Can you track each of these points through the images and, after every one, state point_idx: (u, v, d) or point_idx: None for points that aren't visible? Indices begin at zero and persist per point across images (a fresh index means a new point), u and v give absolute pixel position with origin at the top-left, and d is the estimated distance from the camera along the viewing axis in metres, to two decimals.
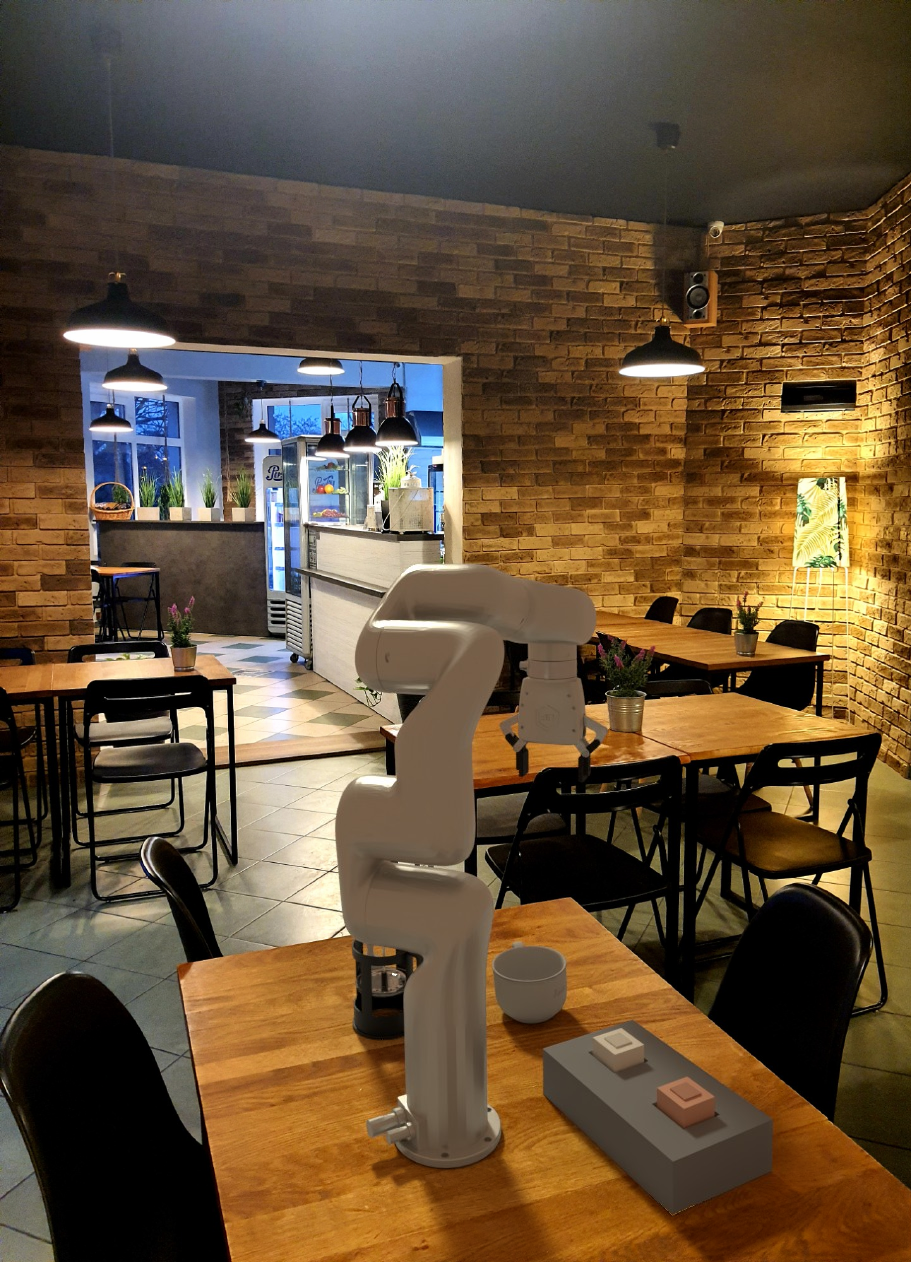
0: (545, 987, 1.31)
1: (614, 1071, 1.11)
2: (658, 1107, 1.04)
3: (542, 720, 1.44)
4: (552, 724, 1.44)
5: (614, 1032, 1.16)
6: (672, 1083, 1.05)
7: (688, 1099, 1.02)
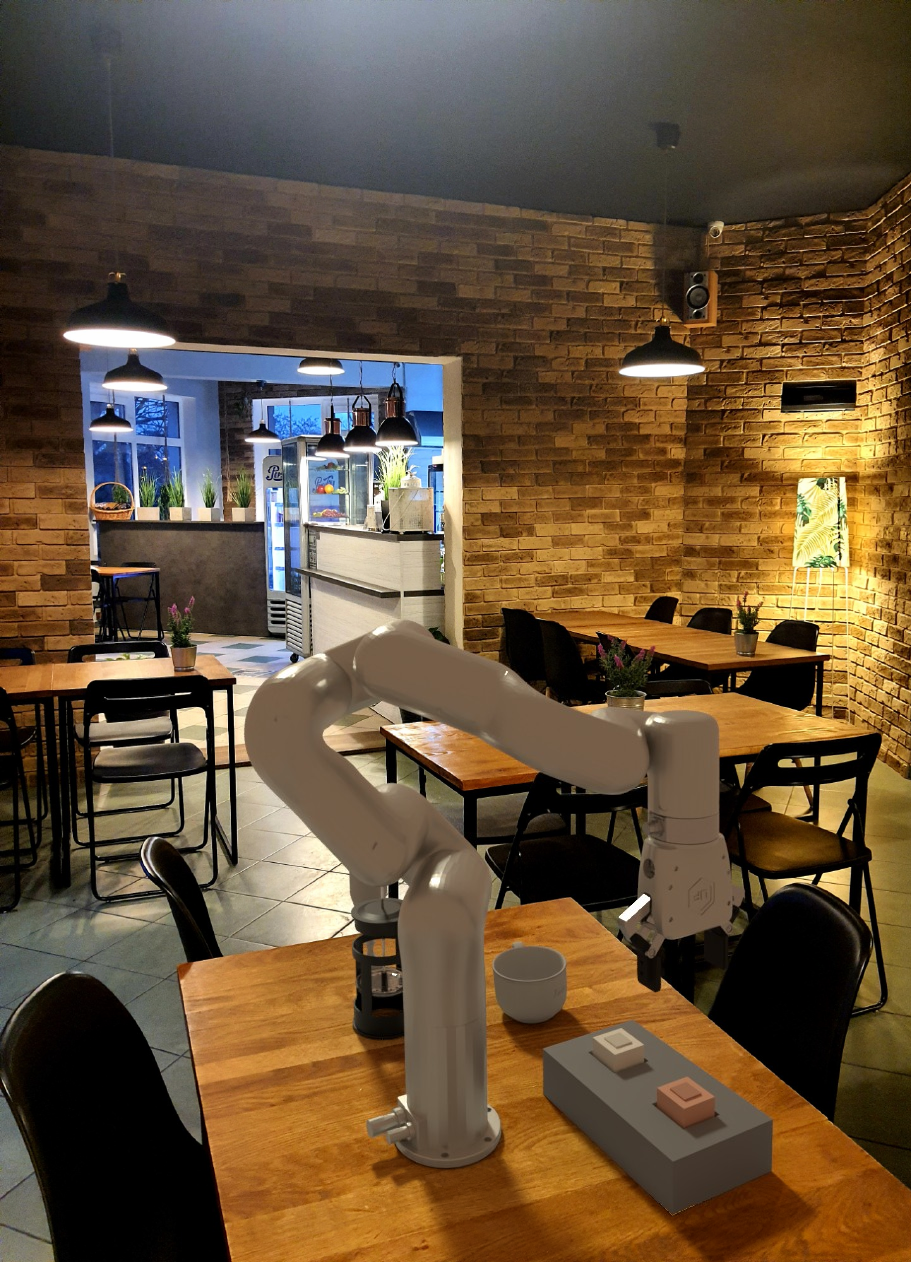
0: (545, 987, 1.31)
1: (614, 1071, 1.11)
2: (658, 1107, 1.04)
3: (695, 901, 1.00)
4: (706, 903, 1.01)
5: (614, 1032, 1.16)
6: (672, 1083, 1.05)
7: (688, 1099, 1.02)
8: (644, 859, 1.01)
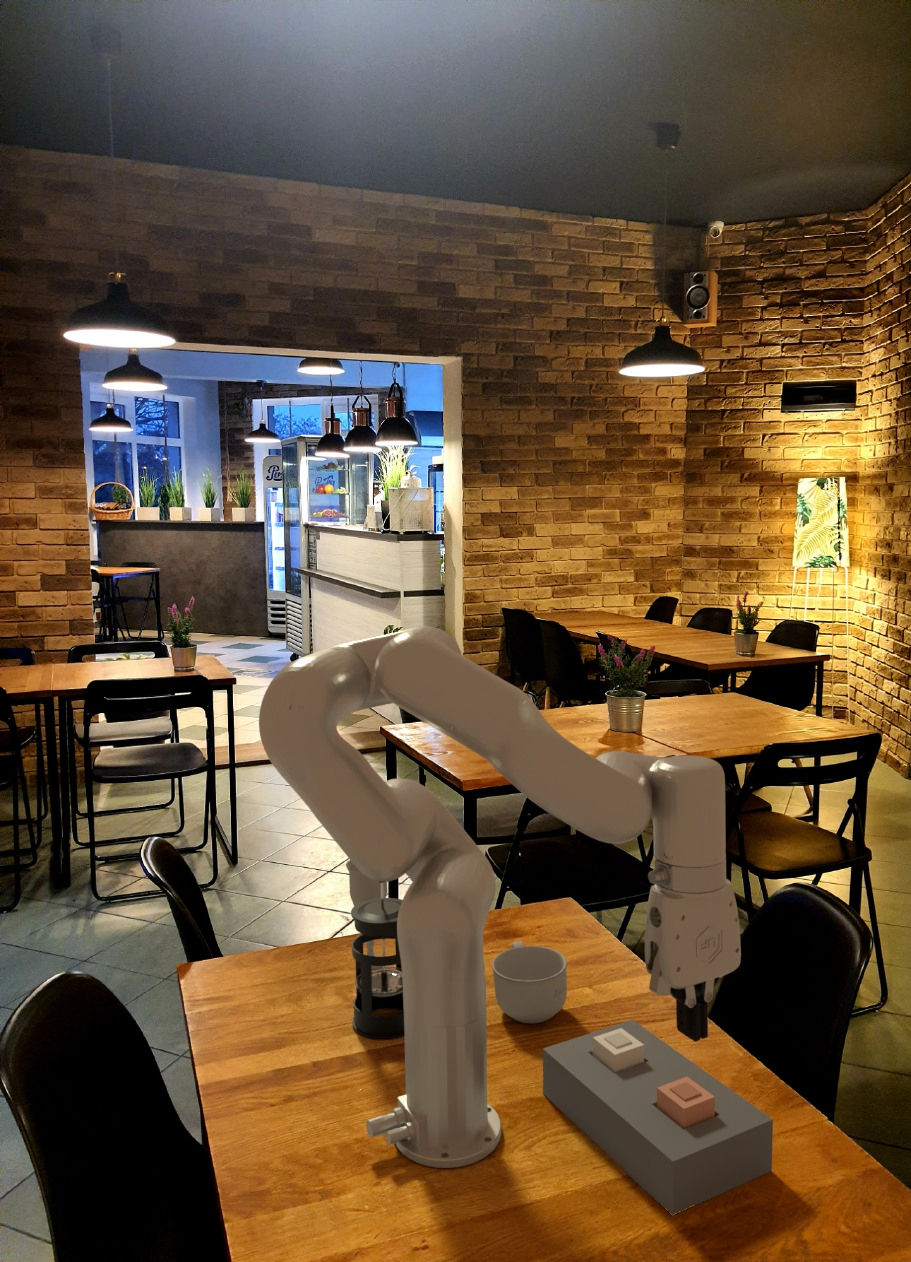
0: (545, 987, 1.31)
1: (614, 1071, 1.11)
2: (658, 1107, 1.04)
3: (702, 950, 0.99)
4: (714, 951, 0.99)
5: (614, 1032, 1.16)
6: (672, 1083, 1.05)
7: (688, 1099, 1.02)
8: (650, 907, 1.00)
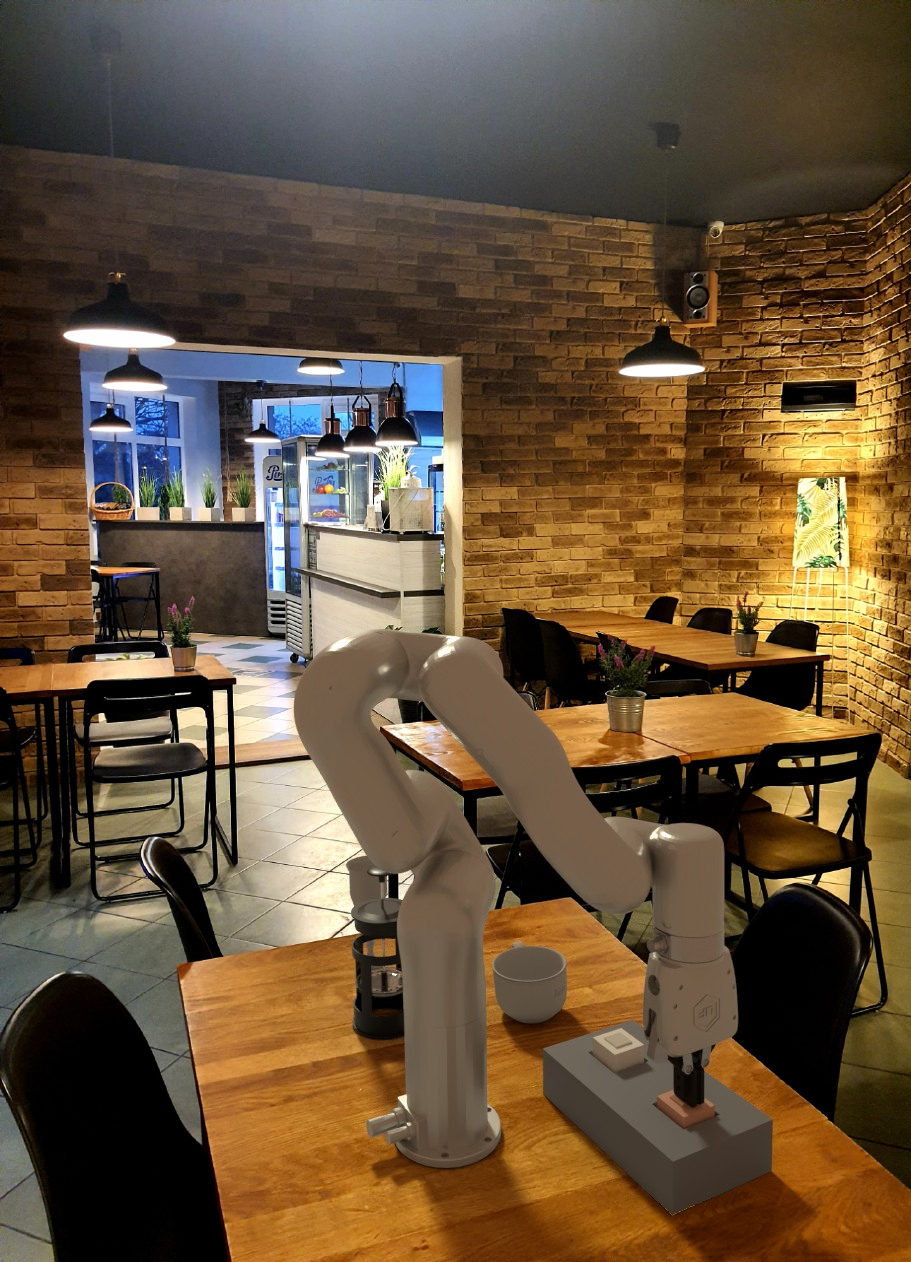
0: (545, 987, 1.31)
1: (614, 1071, 1.11)
2: None
3: (700, 1018, 1.00)
4: (711, 1019, 1.00)
5: (614, 1032, 1.16)
6: (672, 1091, 1.05)
7: (688, 1107, 1.02)
8: (649, 974, 1.01)
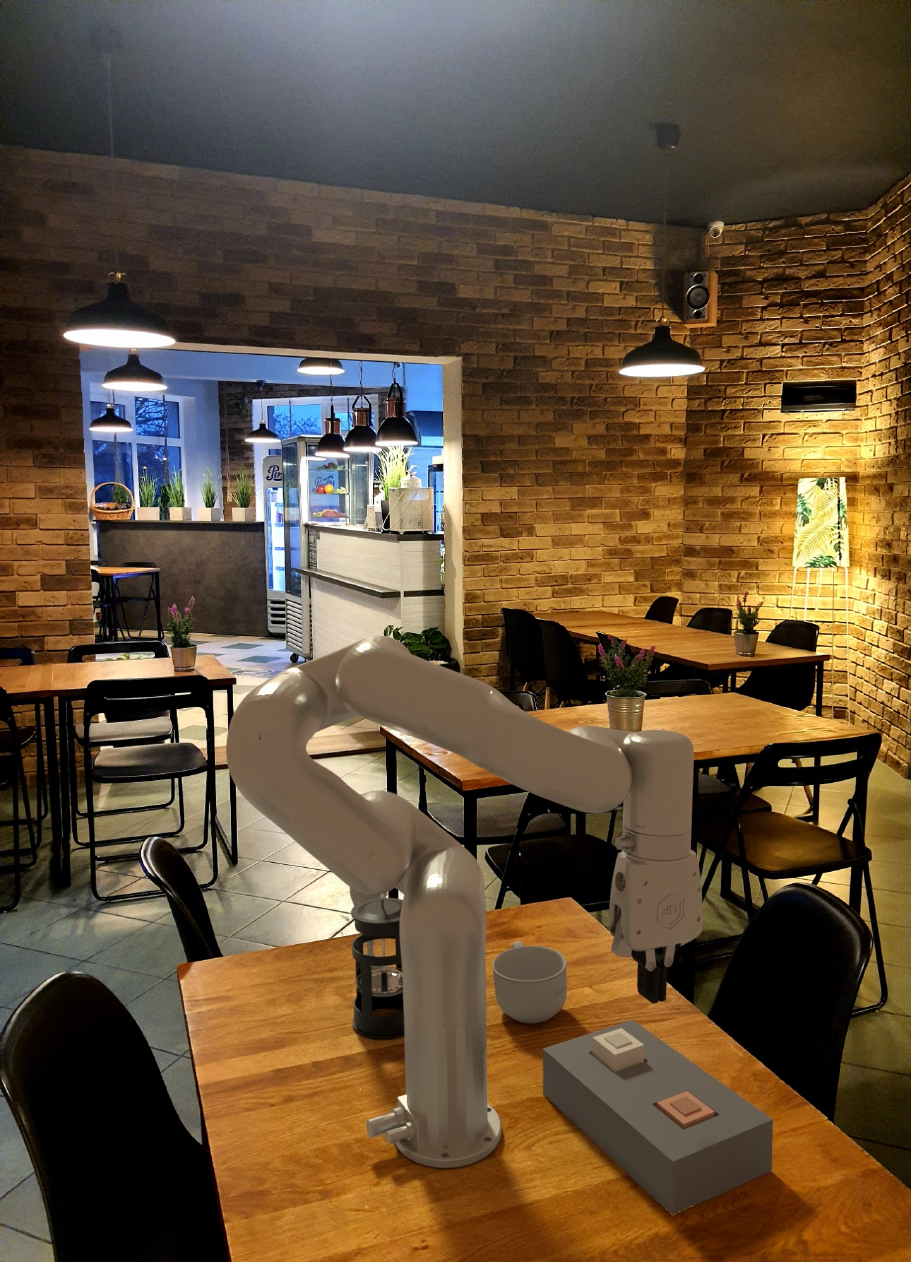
0: (545, 987, 1.31)
1: (614, 1071, 1.11)
2: None
3: (663, 916, 1.03)
4: (675, 918, 1.04)
5: (614, 1032, 1.16)
6: (672, 1097, 1.05)
7: (688, 1113, 1.02)
8: (616, 872, 1.04)
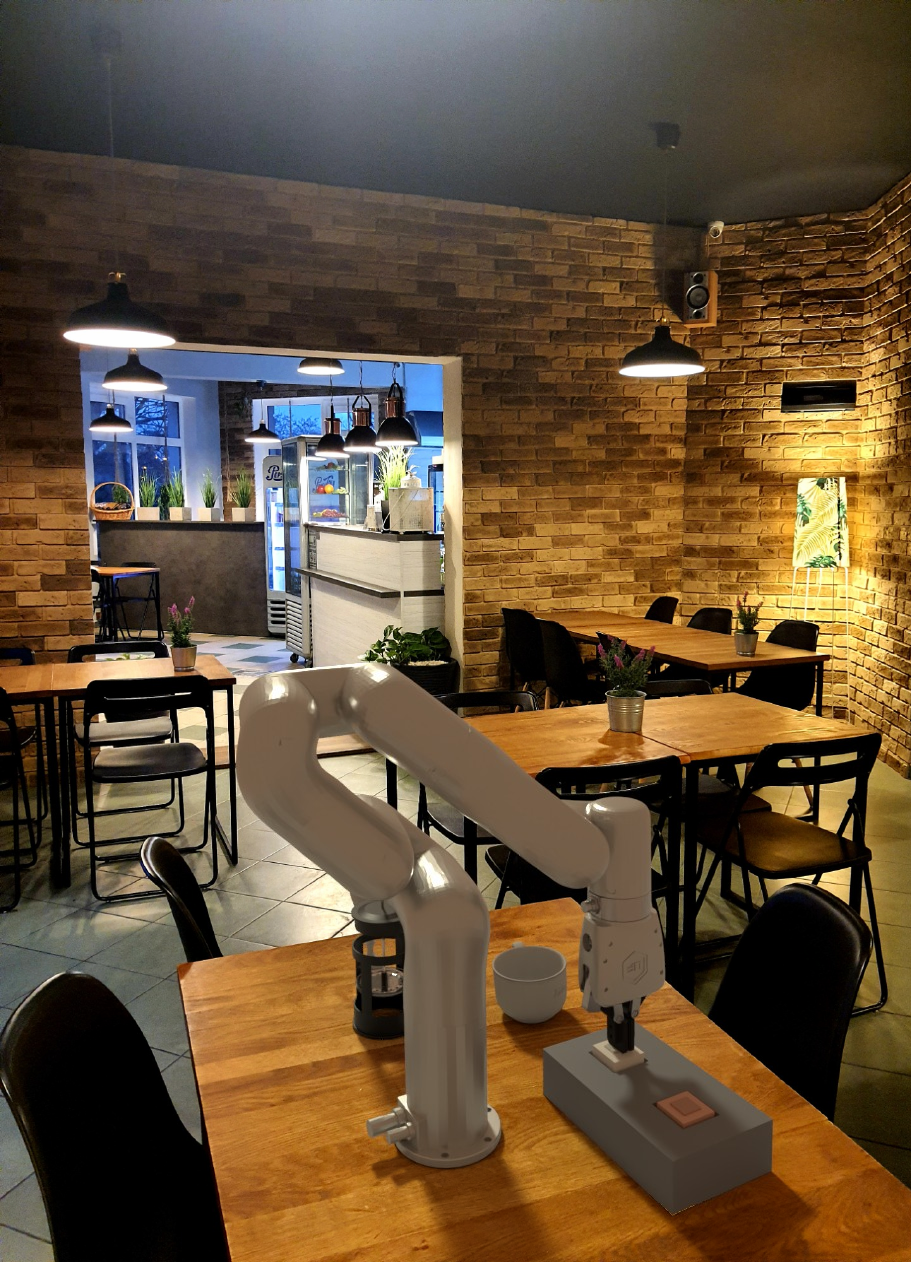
0: (545, 987, 1.31)
1: None
2: None
3: (628, 972, 1.10)
4: (639, 973, 1.11)
5: None
6: (672, 1097, 1.05)
7: (688, 1113, 1.02)
8: (583, 933, 1.11)
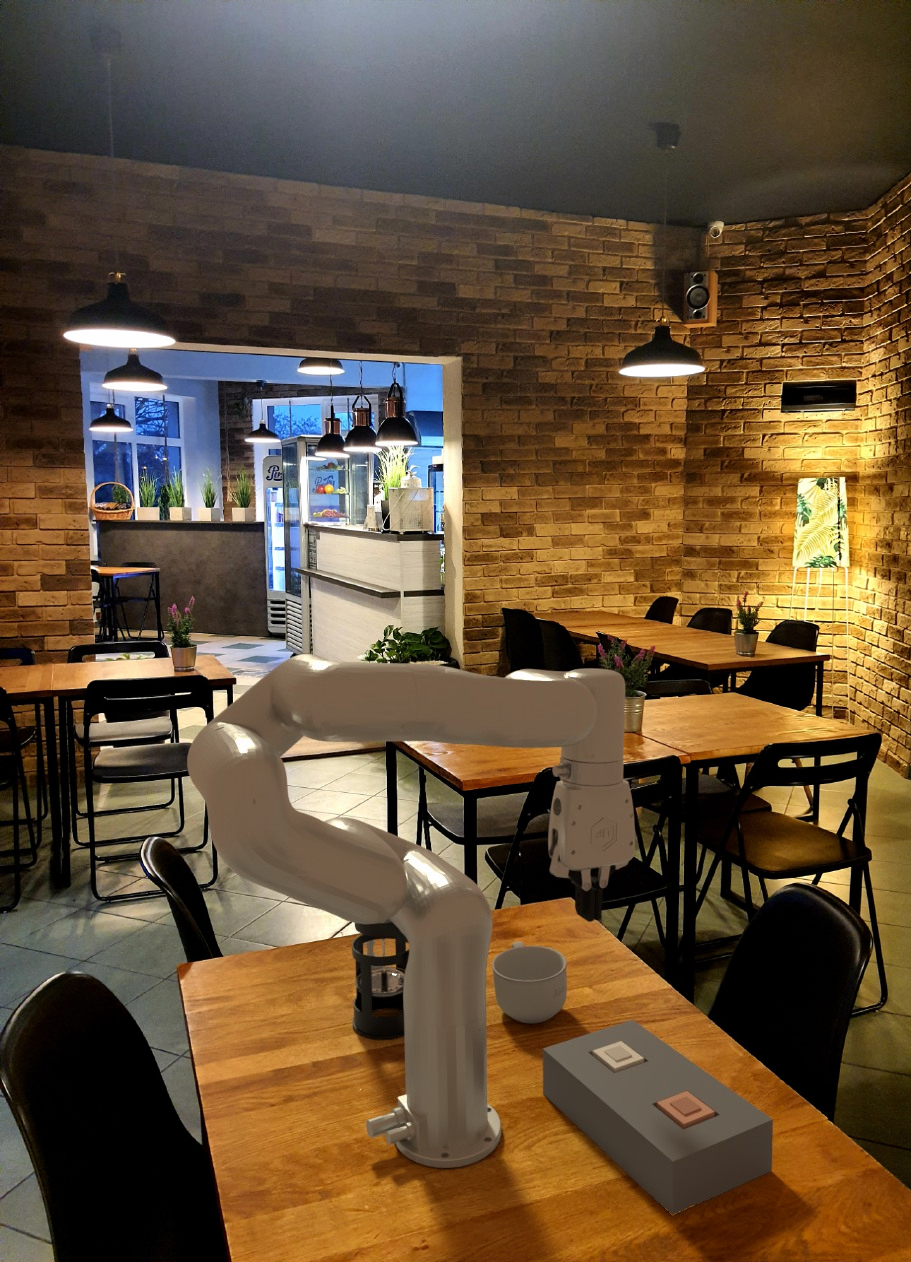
0: (545, 987, 1.31)
1: None
2: None
3: (597, 838, 1.12)
4: (608, 841, 1.12)
5: (614, 1045, 1.16)
6: (672, 1097, 1.05)
7: (688, 1113, 1.02)
8: (554, 798, 1.13)
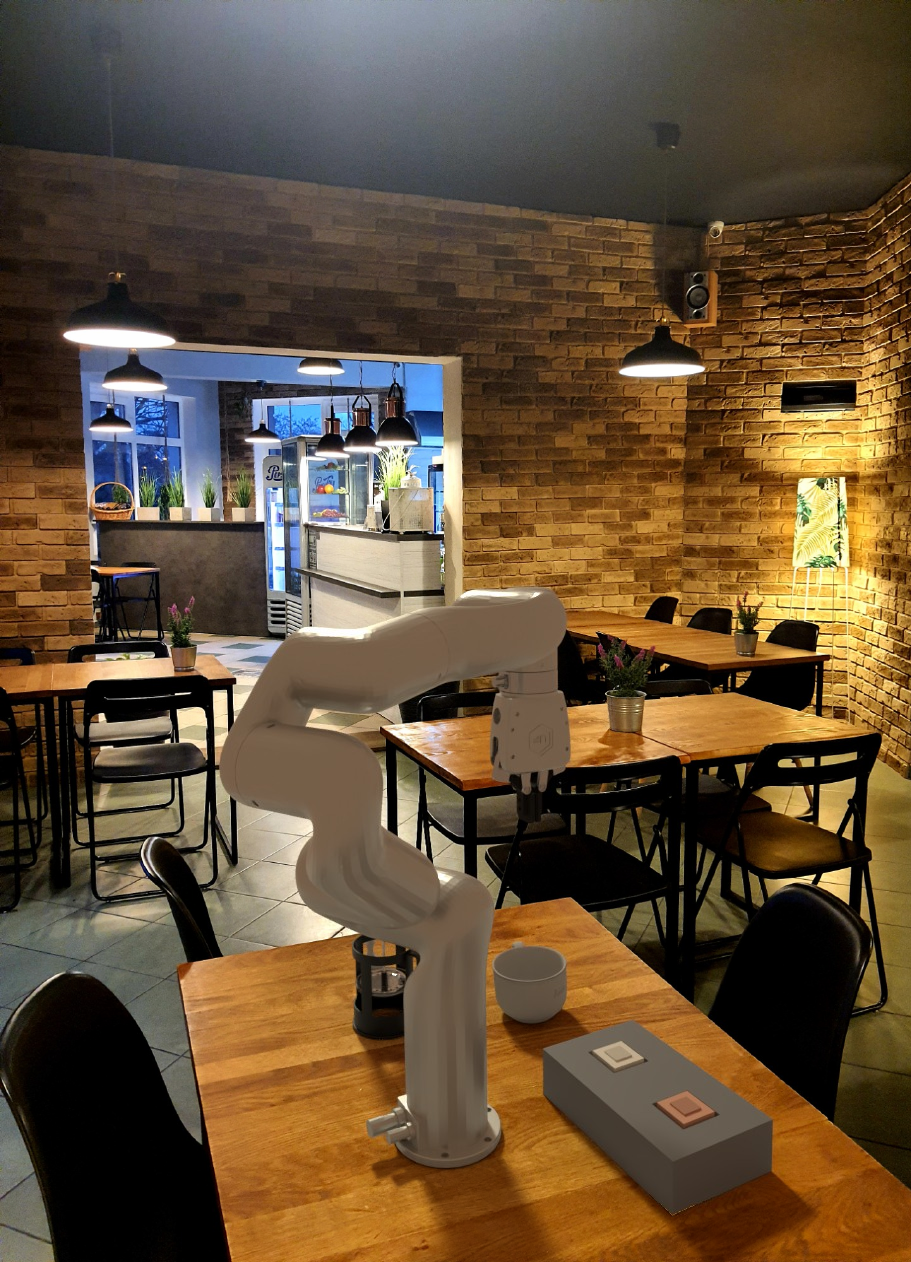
0: (545, 987, 1.31)
1: None
2: None
3: (534, 744, 1.19)
4: (545, 746, 1.20)
5: (614, 1045, 1.16)
6: (672, 1097, 1.05)
7: (688, 1113, 1.02)
8: (494, 709, 1.20)
